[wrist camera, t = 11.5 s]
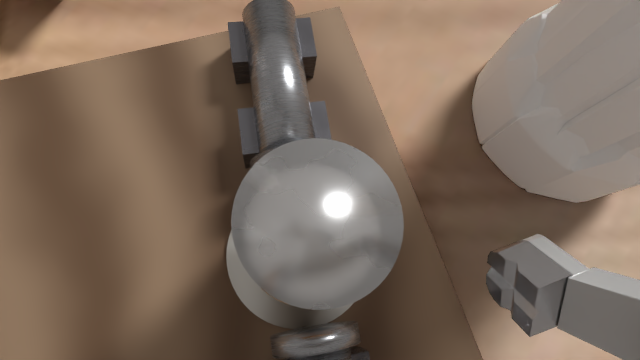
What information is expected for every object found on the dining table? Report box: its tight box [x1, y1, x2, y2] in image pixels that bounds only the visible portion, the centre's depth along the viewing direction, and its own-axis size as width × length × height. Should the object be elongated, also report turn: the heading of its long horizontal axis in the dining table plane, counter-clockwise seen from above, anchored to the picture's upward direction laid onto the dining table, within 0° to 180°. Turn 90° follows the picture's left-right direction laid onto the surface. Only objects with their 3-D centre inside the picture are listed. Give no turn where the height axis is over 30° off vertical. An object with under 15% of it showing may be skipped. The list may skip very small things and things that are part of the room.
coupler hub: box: [231, 138, 404, 310], centre depth 16 cm, size 5×5×9 cm
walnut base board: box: [0, 7, 483, 360], centre depth 20 cm, size 22×26×2 cm
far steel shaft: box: [228, 0, 332, 169], centre depth 21 cm, size 9×4×4 cm, turn 9°
